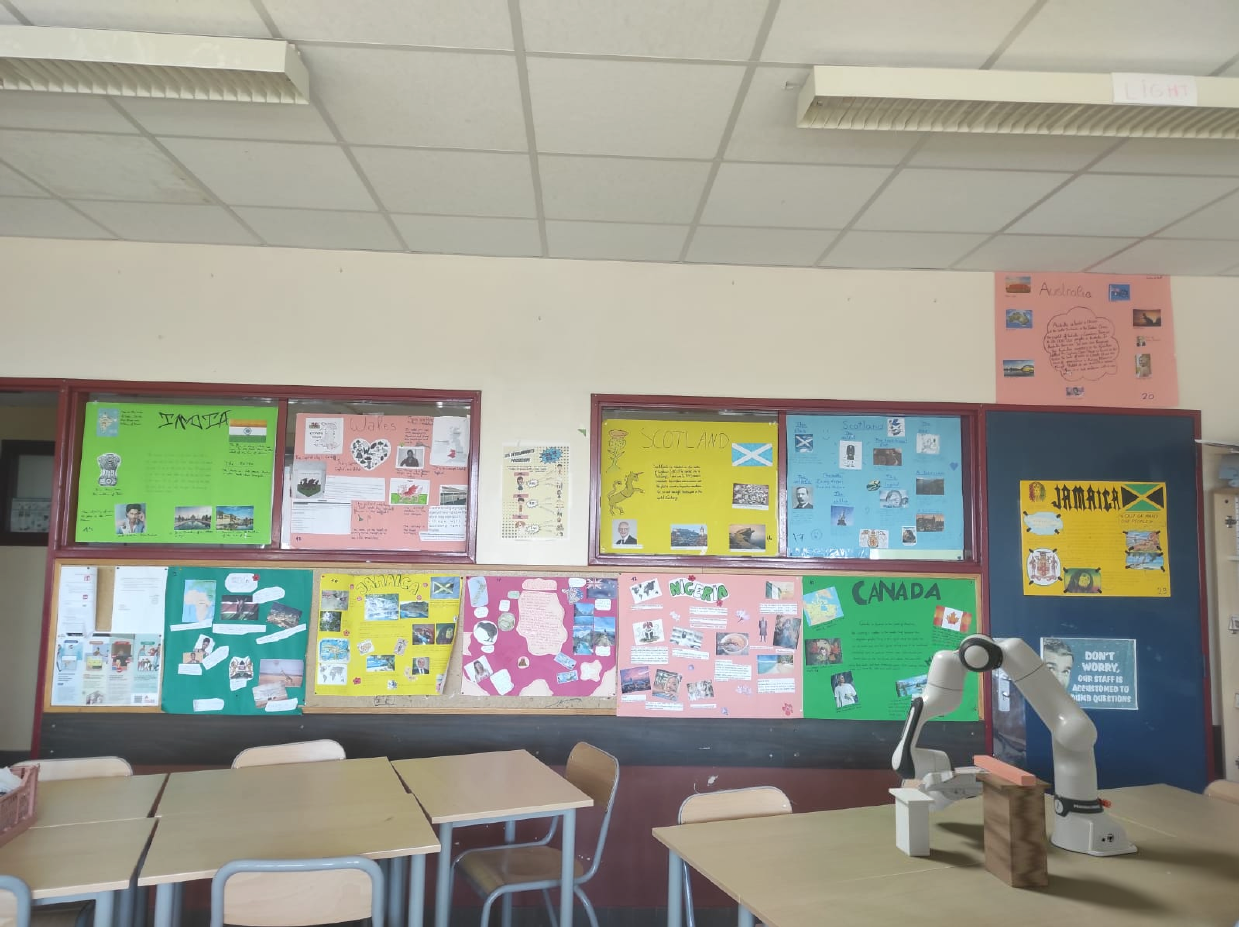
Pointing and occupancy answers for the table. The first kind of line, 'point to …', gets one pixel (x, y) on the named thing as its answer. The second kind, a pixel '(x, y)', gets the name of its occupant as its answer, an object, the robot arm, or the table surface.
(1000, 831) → the brown pedestal
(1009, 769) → the salmon pink flat bar
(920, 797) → the stand
